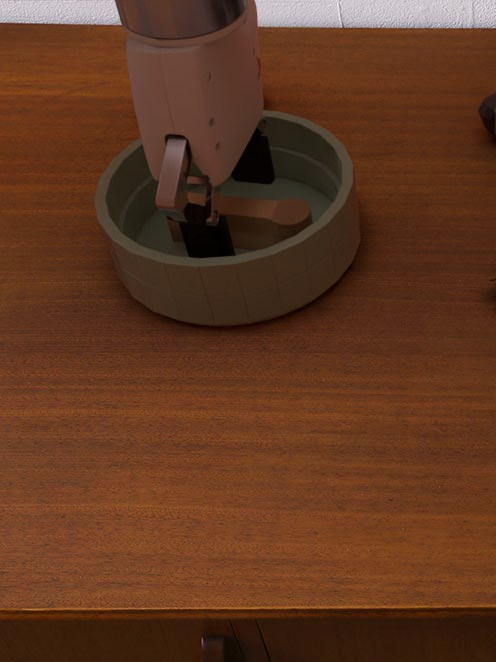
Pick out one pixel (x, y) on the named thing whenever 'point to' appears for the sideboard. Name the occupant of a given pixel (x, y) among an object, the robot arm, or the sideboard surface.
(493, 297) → the insect
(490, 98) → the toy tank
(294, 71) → the sideboard surface
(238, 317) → the bowl
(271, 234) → the round-ended wooden block
